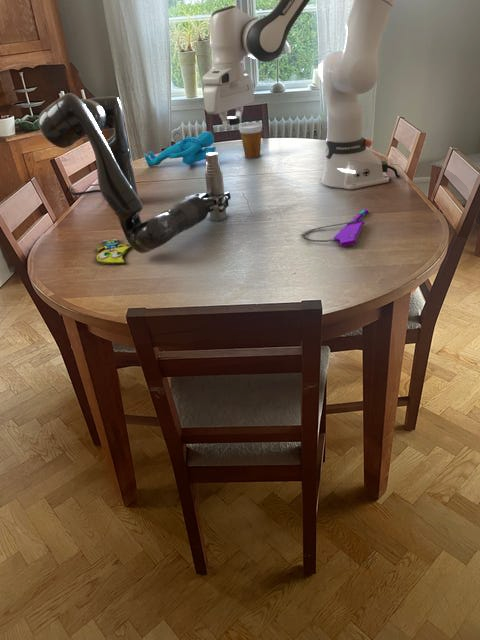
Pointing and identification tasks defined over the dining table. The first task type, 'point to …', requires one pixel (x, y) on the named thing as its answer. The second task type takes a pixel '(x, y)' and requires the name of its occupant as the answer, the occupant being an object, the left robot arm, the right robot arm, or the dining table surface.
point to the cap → (234, 120)
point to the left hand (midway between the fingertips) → (221, 194)
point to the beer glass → (251, 139)
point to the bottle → (214, 183)
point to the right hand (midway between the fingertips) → (232, 124)
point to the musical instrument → (345, 231)
